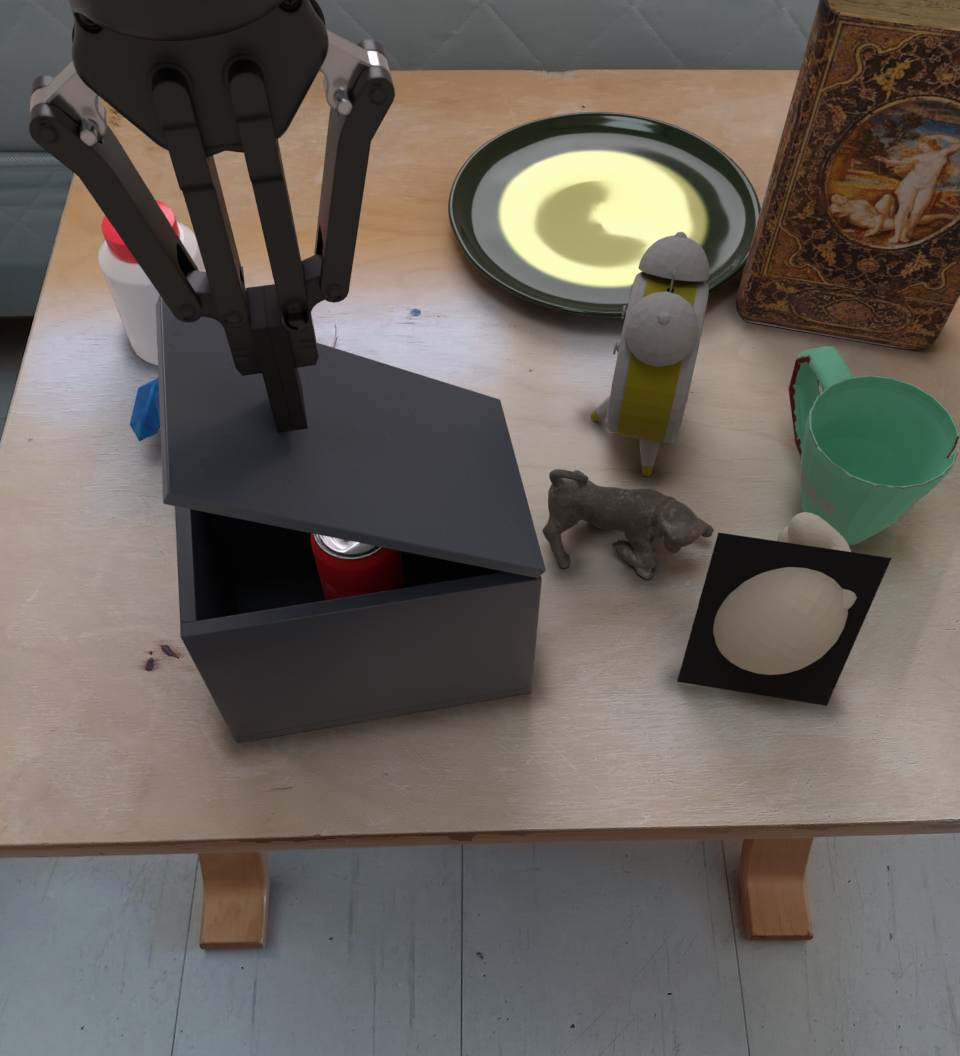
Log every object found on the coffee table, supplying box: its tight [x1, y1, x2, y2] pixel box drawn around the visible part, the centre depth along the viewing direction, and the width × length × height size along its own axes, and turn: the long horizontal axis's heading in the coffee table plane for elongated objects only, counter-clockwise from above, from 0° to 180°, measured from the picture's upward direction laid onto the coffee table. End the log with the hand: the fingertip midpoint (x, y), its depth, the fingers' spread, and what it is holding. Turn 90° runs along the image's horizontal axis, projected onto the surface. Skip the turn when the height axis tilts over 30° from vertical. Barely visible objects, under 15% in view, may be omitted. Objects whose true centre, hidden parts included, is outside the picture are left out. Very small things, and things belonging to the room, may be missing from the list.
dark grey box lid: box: [156, 295, 547, 578], centre depth 52 cm, size 21×13×1 cm
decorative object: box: [676, 511, 892, 707], centre depth 64 cm, size 13×10×10 cm
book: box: [735, 0, 960, 351], centre depth 74 cm, size 16×6×25 cm, turn 76°
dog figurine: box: [542, 468, 715, 580], centre depth 69 cm, size 12×6×7 cm, turn 74°
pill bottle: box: [97, 199, 206, 366], centre depth 79 cm, size 8×8×11 cm
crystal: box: [129, 377, 161, 443], centre depth 75 cm, size 7×9×12 cm
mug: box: [788, 345, 960, 547], centre depth 71 cm, size 15×10×10 cm
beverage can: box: [311, 533, 405, 600], centre depth 63 cm, size 5×5×12 cm
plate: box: [447, 111, 762, 318], centre depth 89 cm, size 28×28×2 cm
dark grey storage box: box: [174, 506, 543, 744], centre depth 63 cm, size 20×13×14 cm, turn 101°
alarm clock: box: [589, 232, 710, 477], centre depth 72 cm, size 12×7×15 cm, turn 167°
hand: (290, 409), depth 49 cm, fingers closed
